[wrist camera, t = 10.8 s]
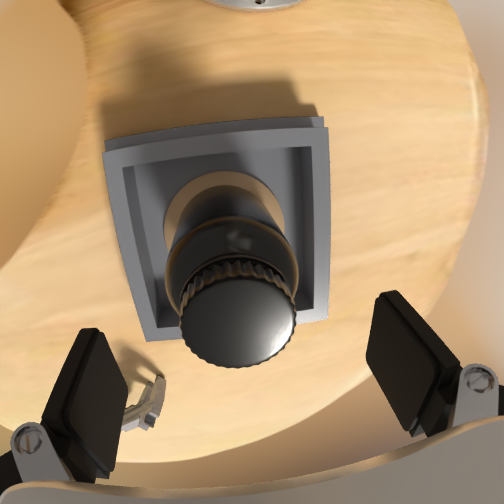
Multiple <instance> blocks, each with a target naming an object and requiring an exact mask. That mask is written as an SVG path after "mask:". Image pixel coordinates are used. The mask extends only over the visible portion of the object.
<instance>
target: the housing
mask: <svg viewBox="0 0 504 504" xmlns="http://www.w3.org/2000/svg"><path fill="white" fill-rule="evenodd" d="M105 149H106V152H103V153H102V155H103V162H104V168H105V175H106V181H107V187H108V193H109V198H110V203H111V209H112V214H113V219H114V224H115V228H116V233H117V237H118V242H119V246H120V250H121V255H122V259H123V263H124V267H125V271H126V275H127V278H128V282H129V286H130V290H131V293H132V297H133V300H134V304H135V307H136V310H137V314H138V317H139V320H140V324H141V327H142V330H143V333H144V336H145V339H146V342H150V341H163V340H175V339H183V338H182V336H181V329H180V327H179V321H180V317H179V316H178V314H177V313H176V312H175V310H174V309H173V307H172V305H171V303H170V301H169V299H168V296H167V293H166V288H165V268H166V263H167V259H168V255H169V252H170V248H171V245H172V241H173V238H174V235H175V231H176V228H177V225H178V221H179V218H180V216H181V214H182V211H183V210H184V208H185V206H186V205H187V204H188V202H189V201H190V200H191V199H192V198H193V197H194V196H195V195H197V194H198V193H200V192H201V191H203V190H205V189H207V188H210V187H214V186H219V185H232V186H237V187H241V188H244V189H246V190H248V191H250V192H251V193H253V194H254V195H255V196H257V197H258V198H259V199H260V200H261V201H262V203H263V204H264V205H265V207H266V208H267V209H268V211H269V212H270V214H271V216H272V217H273V219H274V220H275V222H276V223H277V225H278V227H279V228H280V230H281V231H282V233H283V234H284V236H285V238H286V239H287V241H288V242H289V244H290V246H291V248H292V250H293V252H294V255H295V257H296V260H297V264H298V272H299V279H298V287H297V291H296V294H295V297H294V299H293V300H294V302H295V309H296V311H297V316H296V322H297V324H301V323H307V322H313V321H319V320H325V319H328V306H329V283H330V242H331V197H330V157H329V134H328V127H324V117H283V118H264V119H249V120H237V121H226V122H216V123H208V124H199V125H191V126H184V127H177V128H170V129H164V130H158V131H152V132H146V133H141V134H135V135H130V136H125V137H120V138H116V139H111V140H106V141H105Z"/></svg>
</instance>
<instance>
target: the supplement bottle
mask: <svg viewBox="0 0 504 504" xmlns="http://www.w3.org/2000/svg"><path fill="white" fill-rule="evenodd" d="M298 279H299V272H298V264H297V260H296V257H295V255H294V252H293V250H292V248H291V246H290V244H289V242H288V241H287V239H286V238H285V236H284V234H283V233H282V231H281V230H280V228H279V227H278V225H277V223H276V222H275V220H274V219H273V217H272V216H271V214H270V212H269V211H268V209H267V208H266V207H265V205H264V204H263V203H262V201H261V200H260V199H259V198H258V197H257V196H255V195H254V194H253V193H251V192H250V191H248V190H246V189H244V188H241V187H237V186H232V185H219V186H214V187H210V188H207V189H205V190H203V191H201V192H200V193H198V194H197V195H195V196H194V197H193V198H192V199H191V200H190V201H189V202H188V204H187V205H186V206H185V208H184V210H183V211H182V214H181V216H180V218H179V221H178V225H177V228H176V231H175V235H174V238H173V241H172V245H171V248H170V252H169V255H168V259H167V263H166V268H165V288H166V293H167V296H168V299H169V301H170V303H171V305H172V307H173V309H174V310H175V312H176V313H177V314H178V316H179V317H180V321H179V327H180V329H181V336H182V338H183V339H184V340H185V344H186V346H188V347H189V348H190V349H191V352H192V353H194V354H196V355H197V356H198V357H199V358H200V359H203V360H205V361H206V362H207V363H210V364H214V365H216V366H219V367H221V366H222V367H225V368H242V367H251V366H253V365H259V364H260V363H262V362H264V361H268V360H269V359H270V358H271V357H273V356H276V355H277V354H278V352H279V351H281V350H283V349H284V348H285V345H286V344H287V343H288V342H289V341H290V338H291V336H292V335H293V333H294V327H295V326H296V324H297V322H296V316H297V311H296V309H295V302H294V300H293V299H294V297H295V294H296V291H297V287H298Z"/></svg>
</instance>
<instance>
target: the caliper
mask: <svg viewBox="0 0 504 504" xmlns="http://www.w3.org/2000/svg"><path fill="white" fill-rule="evenodd" d="M165 388H166V380H165V379H163V378H162V377H160V376H158V375H157V376H156V379H155V382H154V384H153V383H152V382H150V381H149V382H148V383H147V385H146V387H145V389H144V391H143V393H142V395H141V398H140V400H139V402H138V404H137V405H130V406H129V407H128V408H125V412H124V417H123V422H122V427H121V431H122V430H124V431H129V430H131V429H134V428H136V427H140V428H142V429H144V430H146V431H147V430H148V428H149V426H150V427H152V428H153V427H154V423H155V420H156V418H158V417H159V415H160V412H161V409H162V405H163V402H164V396H165Z"/></svg>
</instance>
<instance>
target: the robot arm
mask: <svg viewBox="0 0 504 504" xmlns="http://www.w3.org/2000/svg"><path fill="white" fill-rule="evenodd" d="M204 1H206V2H209V3H211V4H213V5H215V6H219V7H223V8H226V9H230V10H236V11H243V12H269V11H278V10H282V9H286V8H290V7H293V6H295V5H298V4H300V3H302V2H304V1H306V0H204ZM255 2H260V3H261V4H256V3H255ZM366 361H367V364H368V366H369V367H370V369H371V371H372V373H373V375H374V376H375V378H376V380H377V382H378V383H379V385H380V387H381V389H382V391H383V392H384V394H385V396H386V398H387V400H388V401H389V403H390V405H391V407H392V409H393V411H394V412H395V414H396V416H397V418H398V420H399V422H400V424H401V426H402V427H403V429H404V430H405V431H409V433H410V434H411V437H414V436H417V435H420V434H422V433H424V432H425V434H426V436H427V437H428V438H426V439H424V440H421V441H419V442H416V443H413V444H410V445H408V446H405V447H402V448H399V449H397V450H394V451H391V452H388V453H386V454H382V455H380V456H376V457H373V458H370V459H367V460H364V461H361V462H357V463H354V464H350V465H347V466H343V467H339V468H335V469H331V470H327V471H323V472H318V473H314V474H310V475H305V476H300V477H294V478H289V479H283V480H277V481H270V482H264V483H256V484H248V485H239V486H227V487H212V488H189V489H162V488H161V489H160V488H138V487H123V486H110V485H101V484H94V483H95V480H96V478H104V479H109V475H110V472H112V471H113V470H114V468H115V462H116V455H117V449H118V444H119V438H120V433H121V427H122V422H123V417H124V412H125V407H126V402H127V397H128V387H127V384H126V382H125V380H124V378H123V376H122V374H121V371H120V369H119V367H118V365H117V363H116V360H115V358H114V356H113V354H112V351H111V349H110V347H109V344H108V342H107V340H106V337H105V335H104V333H103V332H100V331H99V330H98V329H97V328H83V329H81V330H80V331H79V333H78V335H77V337H76V339H75V342H74V344H73V346H72V348H71V350H70V352H69V354H68V356H67V358H66V361H65V363H64V365H63V367H62V369H61V372H60V374H59V376H58V378H57V381H56V383H55V385H54V388H53V390H52V392H51V395H50V397H49V400H48V402H47V404H46V407H45V410H44V412H43V415H42V417H41V418H42V420H41V423H40V424H39V423H35V422H28V423H25V424H22V425H21V426H19V427H18V428H17V429H16V430H15V431H14V433H13V435H12V437H11V441H10V445H11V450H10V451H9V452H7V453H5V454H4V455H2V456H0V504H504V386H502V385H499V383H498V378H497V376H496V374H495V373H494V372H493V370H492V369H490V368H489V367H487V366H485V365H482V364H470V365H467V366H466V367H464V368H462V367H461V366H460V361H459V360H458V359H457V358H456V357H455V355H454V354H453V353H452V352H451V351H450V349H449V348H448V347H447V346H446V345H445V343H444V342H443V341H442V340H441V339H440V338H439V337H438V335H437V334H436V333H435V332H434V331H433V330H432V329H431V327H430V326H429V325H428V324H427V323H426V322H425V320H424V319H423V318H422V317H421V316H420V315H419V314H418V313H417V311H416V310H415V309H414V308H413V307H412V306H411V305H410V304H409V303H408V302H407V300H406V299H405V298H404V297H403V296H402V295H401V294H400V293H399V292H398V291H397V290H393V291H388V292H382V293H381V294H380V295H379V297H378V298H376V300H375V305H374V312H373V318H372V324H371V330H370V335H369V341H368V346H367V351H366Z"/></svg>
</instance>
